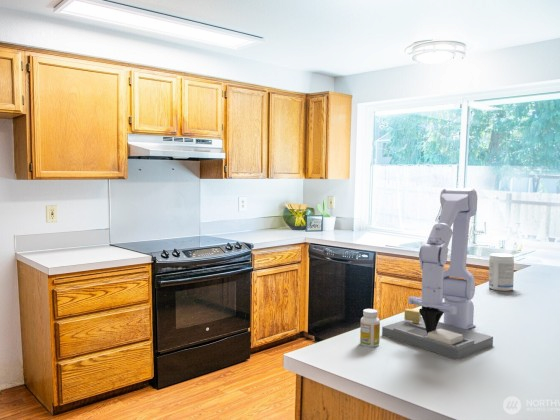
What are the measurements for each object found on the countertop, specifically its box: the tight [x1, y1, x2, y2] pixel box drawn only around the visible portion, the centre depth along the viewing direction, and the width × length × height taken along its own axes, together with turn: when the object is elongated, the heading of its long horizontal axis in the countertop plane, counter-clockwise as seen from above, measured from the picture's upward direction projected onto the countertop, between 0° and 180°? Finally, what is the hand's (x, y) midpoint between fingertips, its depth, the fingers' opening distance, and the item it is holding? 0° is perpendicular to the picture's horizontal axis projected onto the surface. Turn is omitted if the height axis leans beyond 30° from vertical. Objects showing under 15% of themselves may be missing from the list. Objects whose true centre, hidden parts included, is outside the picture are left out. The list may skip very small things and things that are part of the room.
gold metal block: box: [403, 308, 422, 324], centre depth 149 cm, size 4×2×4 cm, turn 59°
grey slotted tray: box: [381, 316, 494, 361], centre depth 141 cm, size 18×25×4 cm
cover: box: [428, 329, 463, 345], centre depth 133 cm, size 6×7×2 cm
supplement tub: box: [488, 252, 515, 292], centre depth 205 cm, size 10×10×15 cm
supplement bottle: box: [359, 308, 381, 348], centre depth 137 cm, size 5×5×10 cm
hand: (430, 333), depth 136 cm, fingers closed
